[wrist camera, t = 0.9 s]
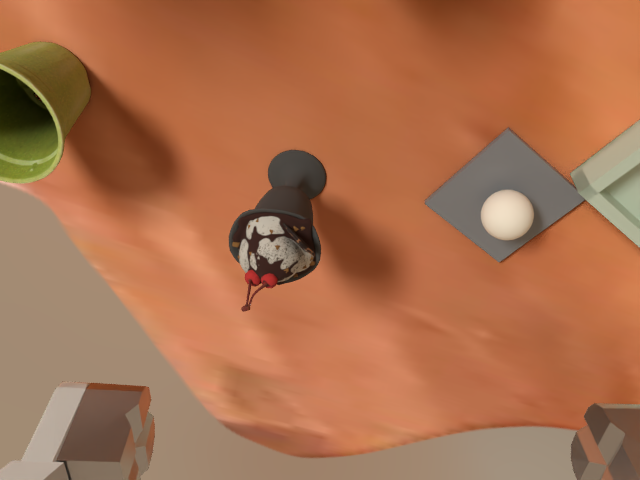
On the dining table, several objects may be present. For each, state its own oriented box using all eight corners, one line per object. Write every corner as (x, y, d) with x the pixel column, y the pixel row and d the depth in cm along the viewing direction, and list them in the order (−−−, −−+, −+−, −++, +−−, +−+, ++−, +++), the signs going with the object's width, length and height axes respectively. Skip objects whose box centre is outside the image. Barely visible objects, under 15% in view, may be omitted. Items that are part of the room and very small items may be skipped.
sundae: (259, 205, 52) (214, 325, 40) (257, 136, 48) (205, 247, 36) (333, 212, 51) (310, 336, 39) (337, 143, 47) (312, 258, 35)
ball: (506, 171, 46) (513, 198, 43) (540, 200, 48) (549, 228, 44) (468, 202, 48) (472, 230, 45) (501, 229, 50) (507, 258, 46)
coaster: (508, 127, 45) (509, 130, 44) (585, 195, 47) (586, 198, 47) (424, 200, 49) (424, 203, 49) (498, 258, 52) (499, 262, 52)
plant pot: (25, -10, 43) (-49, 25, 36) (133, 76, 46) (84, 124, 39) (-20, 79, 48) (-93, 125, 41) (81, 151, 51) (29, 206, 44)
